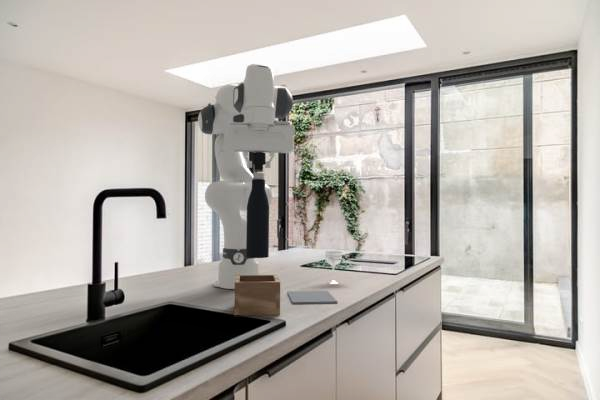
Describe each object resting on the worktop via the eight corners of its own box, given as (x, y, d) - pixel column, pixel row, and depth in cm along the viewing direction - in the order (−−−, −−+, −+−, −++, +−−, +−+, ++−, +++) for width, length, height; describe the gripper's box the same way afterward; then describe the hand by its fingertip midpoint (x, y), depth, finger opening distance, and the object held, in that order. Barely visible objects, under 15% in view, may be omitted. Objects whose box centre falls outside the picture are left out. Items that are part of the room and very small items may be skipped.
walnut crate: (235, 305, 124) (236, 275, 124) (276, 304, 125) (277, 274, 126) (234, 315, 112) (234, 282, 112) (279, 314, 113) (280, 282, 113)
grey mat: (287, 293, 142) (287, 291, 142) (327, 292, 143) (327, 290, 144) (292, 304, 126) (292, 302, 126) (337, 303, 128) (337, 301, 128)
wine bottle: (264, 258, 115) (266, 151, 116) (243, 257, 116) (244, 151, 117) (271, 256, 121) (272, 154, 122) (250, 255, 122) (251, 154, 123)
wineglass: (321, 282, 162) (321, 252, 163) (330, 280, 168) (330, 250, 168) (336, 284, 158) (336, 253, 159) (344, 282, 164) (345, 251, 164)
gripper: (293, 123, 124) (293, 169, 124) (224, 120, 121) (224, 167, 121) (296, 119, 118) (295, 167, 117) (223, 116, 115) (222, 165, 115)
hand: (258, 167), depth 119 cm, fingers closed on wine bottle, 4 cm apart
